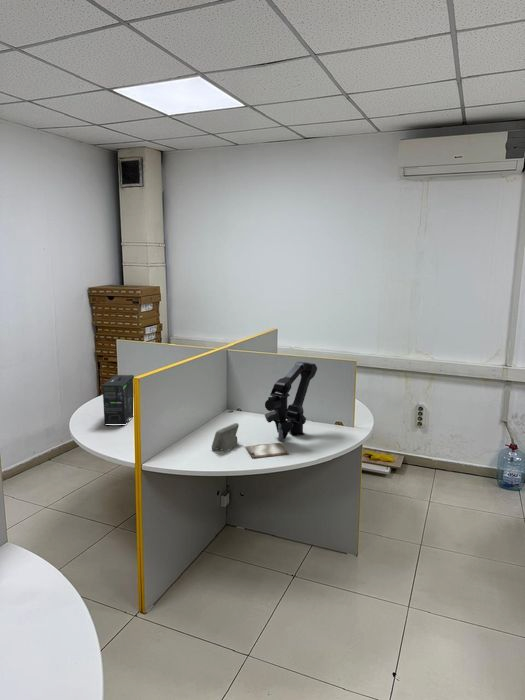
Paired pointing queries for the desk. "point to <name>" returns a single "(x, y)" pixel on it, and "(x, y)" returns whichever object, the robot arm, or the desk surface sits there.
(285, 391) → the robot arm
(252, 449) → the clipboard
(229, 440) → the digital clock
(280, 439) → the glue stick
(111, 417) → the headset box
